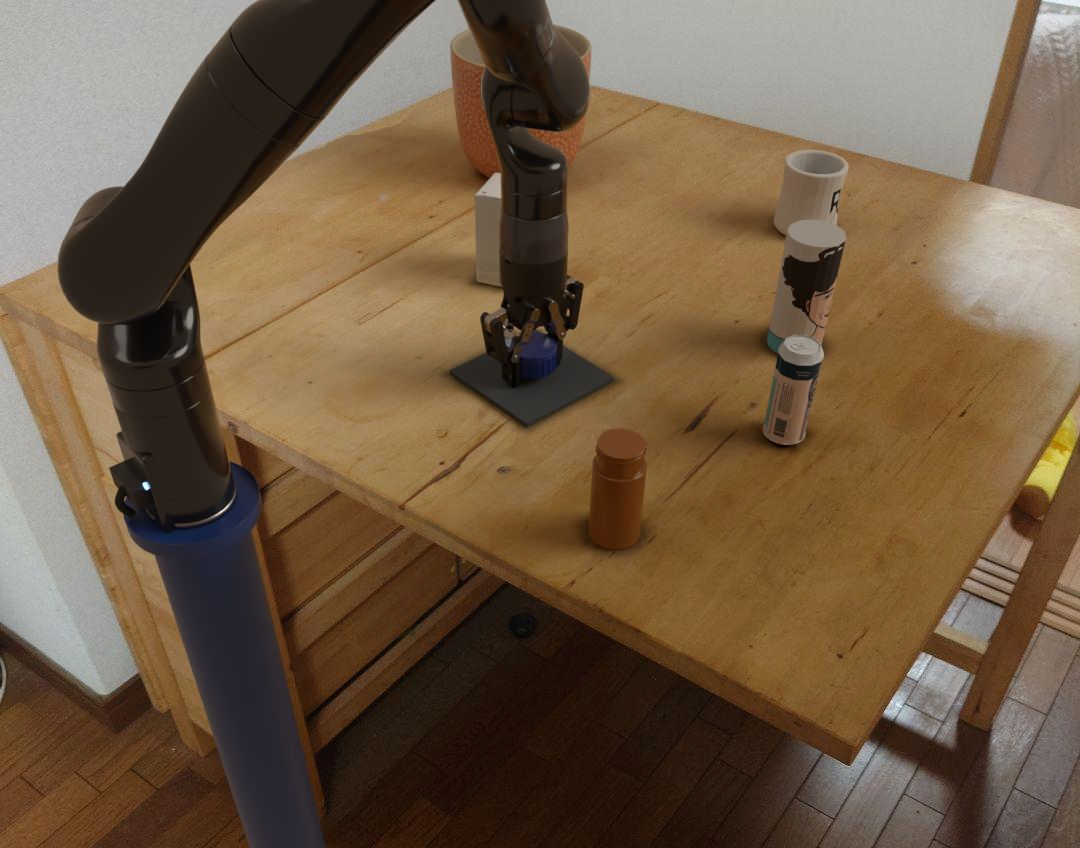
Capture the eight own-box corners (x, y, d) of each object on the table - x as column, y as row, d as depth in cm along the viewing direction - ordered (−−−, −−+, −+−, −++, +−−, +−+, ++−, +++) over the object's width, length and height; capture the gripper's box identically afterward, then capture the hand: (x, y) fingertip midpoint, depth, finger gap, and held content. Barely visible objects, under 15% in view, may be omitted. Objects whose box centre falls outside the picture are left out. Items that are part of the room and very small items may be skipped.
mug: (830, 247, 152) (845, 180, 145) (767, 237, 154) (779, 170, 147) (841, 210, 161) (856, 145, 154) (781, 200, 163) (793, 136, 156)
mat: (526, 428, 121) (526, 423, 120) (449, 374, 128) (449, 370, 128) (614, 381, 128) (614, 376, 127) (536, 332, 135) (536, 328, 135)
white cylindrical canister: (806, 364, 131) (831, 252, 120) (757, 346, 134) (777, 235, 123) (829, 340, 135) (855, 230, 124) (781, 323, 138) (802, 214, 127)
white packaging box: (526, 293, 142) (526, 203, 133) (474, 282, 144) (472, 193, 135) (545, 267, 147) (547, 179, 138) (495, 257, 149) (494, 170, 140)
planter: (428, 175, 167) (420, 49, 154) (506, 131, 180) (505, 11, 167) (536, 211, 159) (538, 81, 146) (610, 163, 171) (618, 39, 158)
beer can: (812, 444, 119) (834, 353, 111) (773, 451, 118) (792, 360, 110) (792, 419, 123) (812, 329, 114) (754, 426, 121) (772, 335, 113)
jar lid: (504, 352, 128) (504, 332, 127) (553, 349, 129) (554, 329, 127) (509, 380, 124) (509, 359, 122) (559, 377, 125) (560, 357, 123)
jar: (614, 557, 106) (621, 468, 98) (577, 530, 108) (582, 441, 100) (650, 534, 108) (660, 444, 100) (613, 508, 111) (621, 419, 103)
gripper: (558, 212, 121) (555, 339, 133) (460, 252, 114) (465, 382, 126) (605, 236, 117) (597, 365, 129) (506, 279, 110) (507, 411, 122)
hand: (532, 373), depth 127 cm, fingers closed on jar lid, 5 cm apart
